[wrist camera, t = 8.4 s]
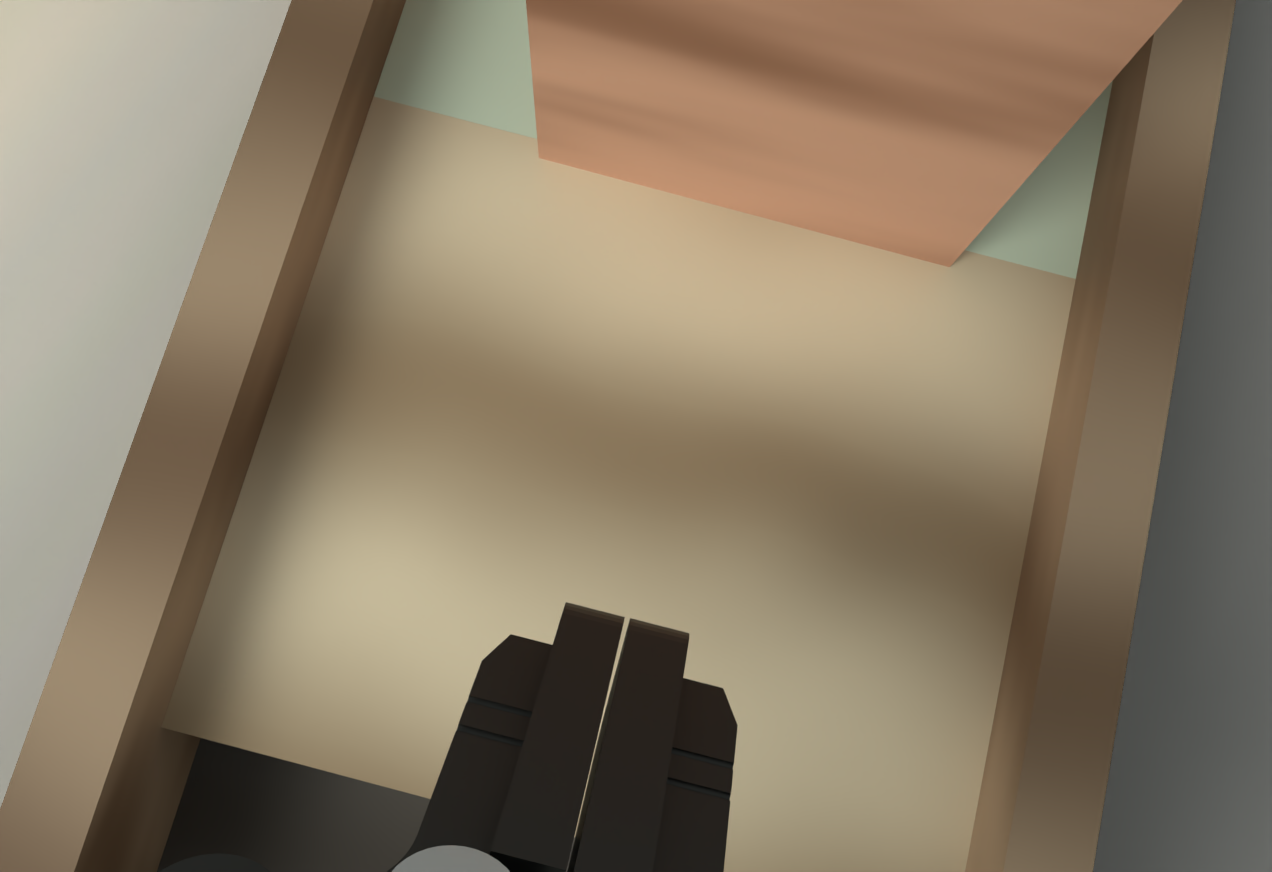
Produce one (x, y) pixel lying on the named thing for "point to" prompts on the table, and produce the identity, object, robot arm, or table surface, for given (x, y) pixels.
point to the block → (829, 103)
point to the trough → (619, 490)
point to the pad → (503, 98)
